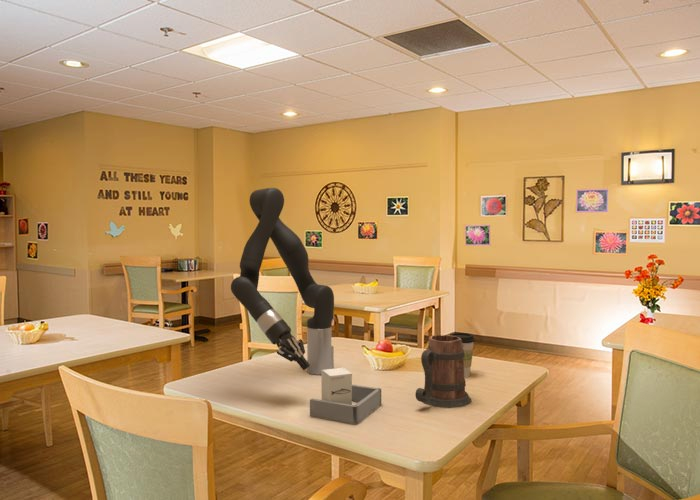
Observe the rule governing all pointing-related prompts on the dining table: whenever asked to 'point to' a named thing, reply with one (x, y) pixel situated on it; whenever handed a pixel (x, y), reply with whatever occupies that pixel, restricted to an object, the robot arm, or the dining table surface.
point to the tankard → (444, 373)
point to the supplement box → (337, 385)
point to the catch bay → (348, 406)
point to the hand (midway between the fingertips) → (307, 367)
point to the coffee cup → (466, 350)
